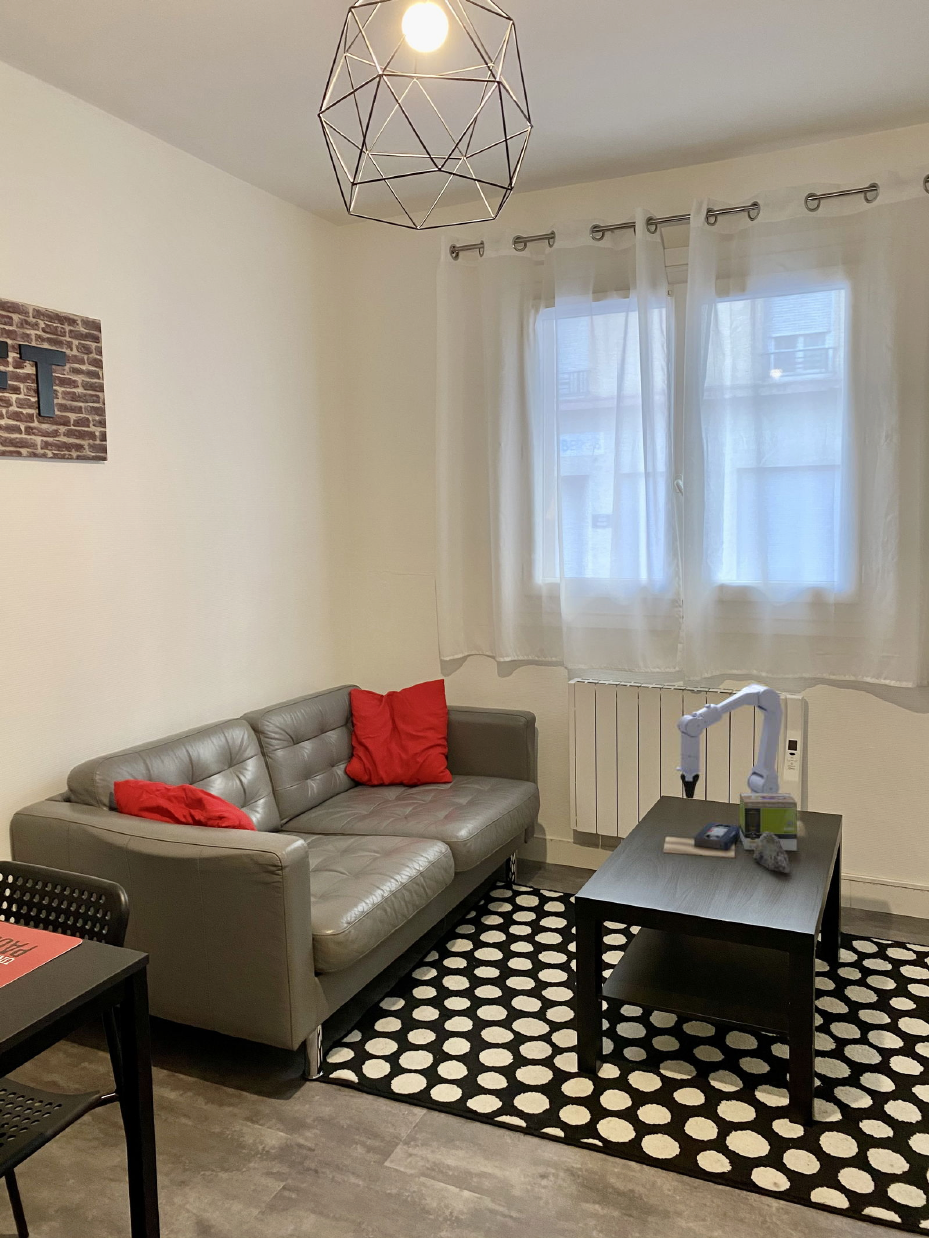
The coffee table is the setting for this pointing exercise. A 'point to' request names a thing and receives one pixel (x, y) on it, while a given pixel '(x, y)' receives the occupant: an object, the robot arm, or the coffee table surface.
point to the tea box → (768, 818)
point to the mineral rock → (771, 853)
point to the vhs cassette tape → (717, 836)
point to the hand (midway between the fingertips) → (689, 797)
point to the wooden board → (695, 848)
